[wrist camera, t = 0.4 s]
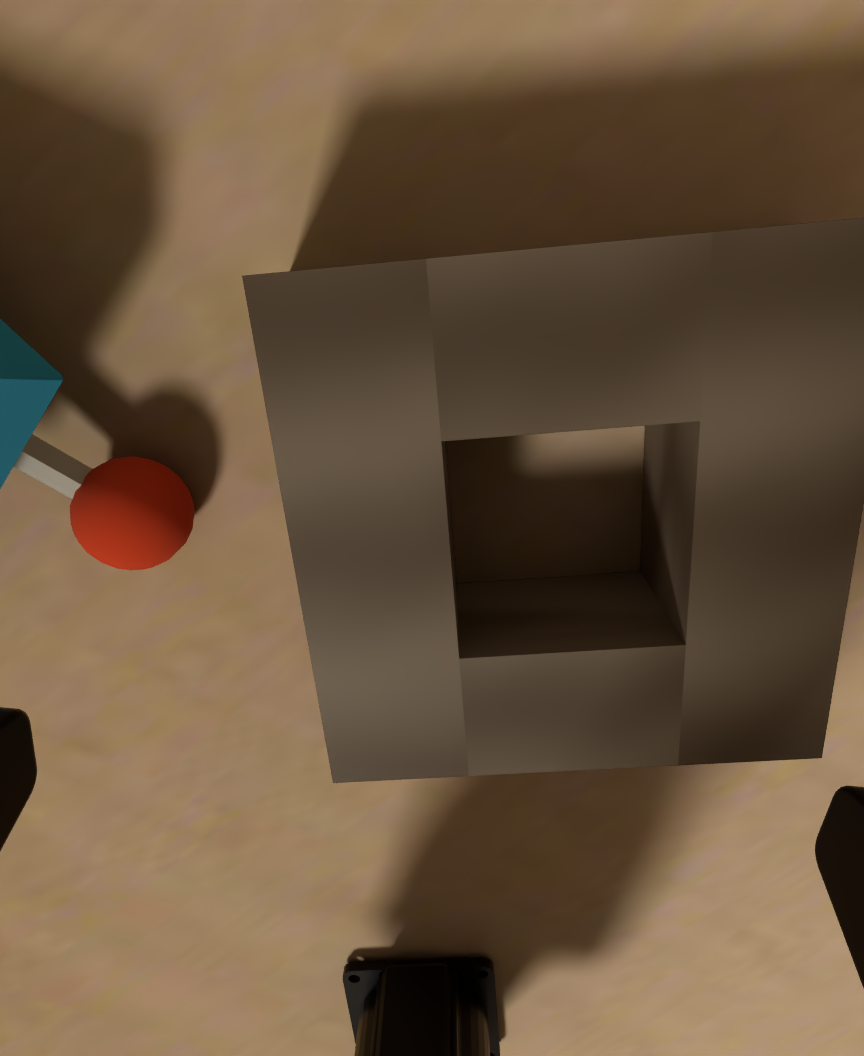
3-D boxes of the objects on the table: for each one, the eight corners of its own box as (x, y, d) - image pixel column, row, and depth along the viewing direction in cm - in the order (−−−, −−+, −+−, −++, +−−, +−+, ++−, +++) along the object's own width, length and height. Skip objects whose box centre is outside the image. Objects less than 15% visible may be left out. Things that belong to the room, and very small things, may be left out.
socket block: (753, 667, 23) (821, 757, 19) (353, 691, 24) (333, 783, 19) (802, 225, 18) (910, 213, 14) (288, 273, 18) (242, 275, 14)
